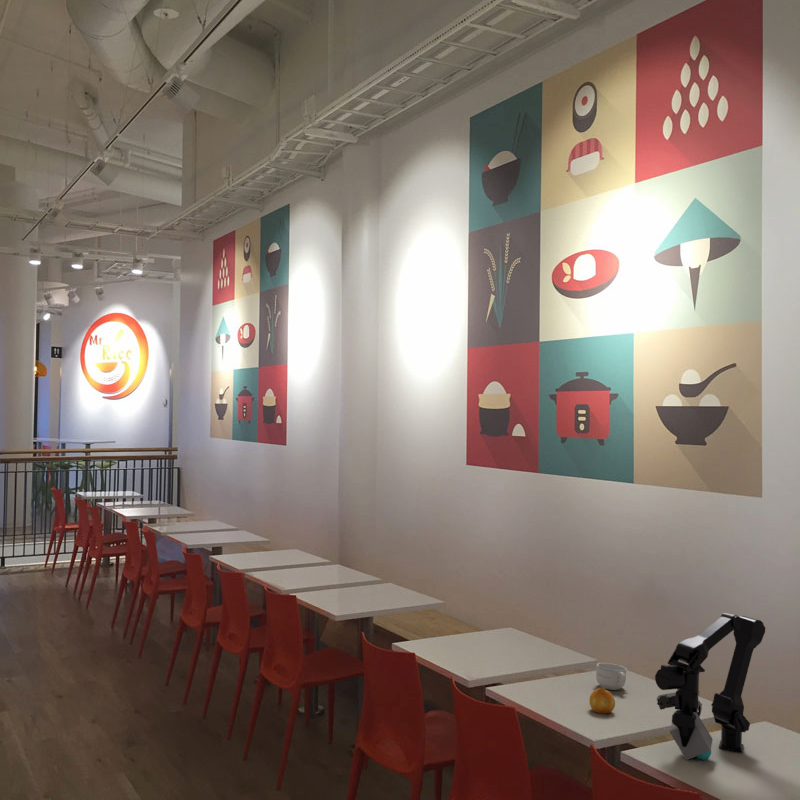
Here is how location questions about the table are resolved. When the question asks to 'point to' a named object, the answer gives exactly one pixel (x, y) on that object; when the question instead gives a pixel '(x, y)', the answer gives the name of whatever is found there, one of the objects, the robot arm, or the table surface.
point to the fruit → (602, 701)
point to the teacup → (611, 676)
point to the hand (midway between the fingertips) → (686, 741)
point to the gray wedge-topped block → (694, 740)
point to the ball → (704, 755)
